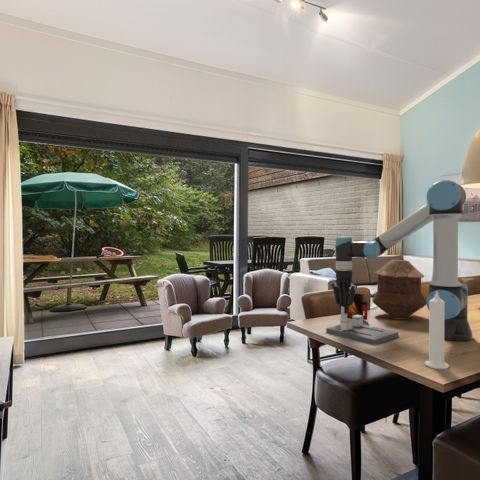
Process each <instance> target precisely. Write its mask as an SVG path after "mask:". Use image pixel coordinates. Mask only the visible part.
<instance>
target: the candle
mask: <svg viewBox="0 0 480 480" xmlns="http://www.w3.org/2000/svg"><path fill="white" fill-rule="evenodd" d="M428 312H429V313H428V314H429V316H428V318H429V319H428V320H429V321H428V327H429V328H428V334H429V335H428V359H427V360H425V361H424V365H425V367H428V368H431V369H433V370H448V369H449V368H450V366H449V364H448V363H447V362H445V339H444V315H445V302H444V301H443V300H442V299H440V297H439V295H438V291H436V294H435V297H434V298H433V299H431V300H430V301H429V310H428Z"/></svg>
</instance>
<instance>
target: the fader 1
mask: <svg viewBox="0 0 480 480" xmlns="http://www.w3.org/2000/svg"><path fill="white" fill-rule="evenodd" d="M339 325H340V329H342V330H350V329H352V319H350V318H343V319H341V318H340V324H339Z"/></svg>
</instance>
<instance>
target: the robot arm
mask: <svg viewBox="0 0 480 480" xmlns="http://www.w3.org/2000/svg"><path fill="white" fill-rule="evenodd" d="M466 199H467V194H466V190H465V189H464V188H463V186H462V185H460V184H458V183H457V182H455V181H453V180H449V179H448V180H447V179H446V180H445V179H443V180H439V181H436V182H435V183H433V184H432V185H431V186H430V187H429V188H428V189H427V192H426V204H424V205H422V206H421V207H419V208H418V209H417V210H414V212H412V213H411V214H409V215H408V216H406V217H404V218H403V219H401V220H400V221H399V222H397V223H396V224H394V225H393V226H392V227H390V228H388V229H387V230H385V231H383V233H381V234H379V235H378V236H377V237H375V238H373V239H371V240H359V241H358V240H356V241H355V240H353V238H352V237H351V236H338V237H336V238H335V269H336V270H335V278H336V279H335V282H333V283H331V287H332V291H333V295H334V299H335V304H336V305H339V313H340V315H341V316H340V319H343V318H347V313H348V307H349V306H351V305H352V304H353V299H354V294H356V290H357V288H358V286H357V285H354V283H353V280H352V279H353V270H352V269H353V258H361V259H378V257H380V256H382V255H383V254H384V253H385V252H386V251H388V250H390V249H391V248H392V247H394V246H395V245H397V244H398V243H400V242H402V241H403V240H405V239H407V238H408V237H410V236H411V235H412V234H414V233H416V232H418V231H420V229H422V228H423V227H425V226H427V225H429V224H430V223H431V222H432V223H433V224H432V226H433V228H432V229H433V230H432V232H433V235H432V236H433V239H432V241H433V243H432V244H433V245H432V246H433V247H432V248H433V250H432V252H433V253H432V254H433V256H432V257H433V258H432V260H433V262H432V263H433V264H432V265H433V266H432V268H433V271H432V274H433V275H432V277H433V278H432V280H431V281H430V282H429V283H428V296H427V298H426V308H427V309H428V311H429V301H430V300H431V299H433V298H434V297H435V294H436V291H438V295H439V297H440V299H442V300H443V301H444V302H445V315H444V340H445V341H447V340H448V341H454V342H465V341H471V340H472V339H473V331H472V329H471V326H470V323H469V320H468V311H469V310H468V309H469V308H468V306H469V305H468V301H469V299H468V297H469V296H468V293H469V287H468V285H467V284H466V283H463V282H462V283H461V282H460V281H459V279H458V278H459V272H458V271H459V259H458V258H459V219H460V217H461V216H463V209H464V207H463V206H464V204H465V202H466Z"/></svg>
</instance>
